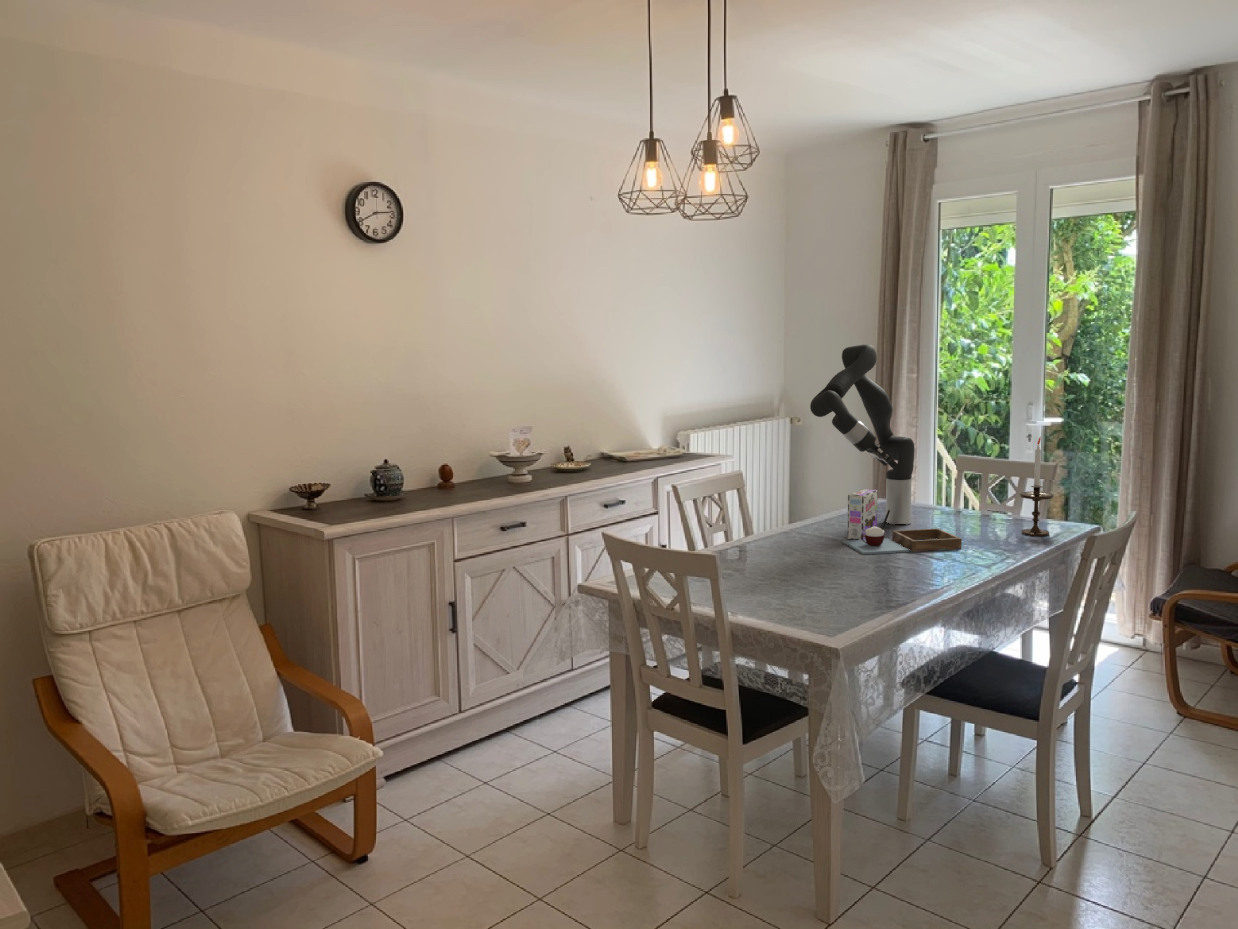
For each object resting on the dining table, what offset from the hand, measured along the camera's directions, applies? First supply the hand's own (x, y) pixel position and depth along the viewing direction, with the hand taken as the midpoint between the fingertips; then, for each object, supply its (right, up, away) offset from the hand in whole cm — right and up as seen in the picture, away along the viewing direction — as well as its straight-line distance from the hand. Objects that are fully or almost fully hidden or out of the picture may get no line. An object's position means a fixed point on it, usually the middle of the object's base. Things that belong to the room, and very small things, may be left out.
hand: (891, 465), depth 320 cm
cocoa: (-7, -27, -3) cm, 28 cm away
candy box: (-6, -26, +14) cm, 30 cm away
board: (-6, -28, -3) cm, 29 cm away
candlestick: (+54, -25, +11) cm, 61 cm away
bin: (+11, -27, -1) cm, 29 cm away
